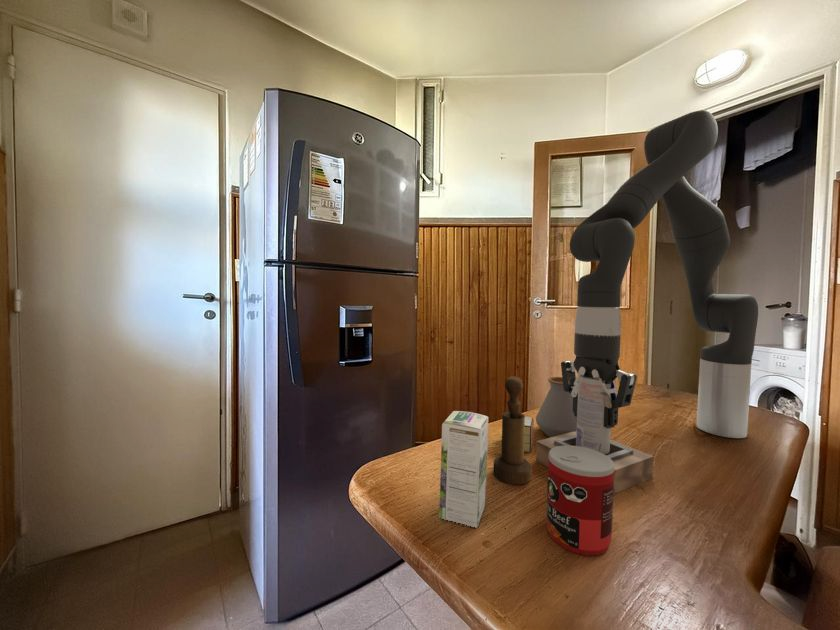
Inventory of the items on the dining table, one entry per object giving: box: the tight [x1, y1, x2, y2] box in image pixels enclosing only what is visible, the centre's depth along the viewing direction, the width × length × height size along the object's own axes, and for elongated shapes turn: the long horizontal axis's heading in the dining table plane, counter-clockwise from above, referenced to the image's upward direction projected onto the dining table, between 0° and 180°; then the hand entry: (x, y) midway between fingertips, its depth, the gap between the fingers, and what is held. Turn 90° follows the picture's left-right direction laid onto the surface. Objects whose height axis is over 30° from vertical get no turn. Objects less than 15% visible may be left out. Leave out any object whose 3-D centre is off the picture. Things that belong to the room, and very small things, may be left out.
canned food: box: [545, 445, 614, 557], centre depth 46 cm, size 8×8×11 cm
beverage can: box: [576, 376, 612, 455], centre depth 64 cm, size 6×6×15 cm
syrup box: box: [438, 410, 489, 529], centre depth 50 cm, size 6×6×14 cm
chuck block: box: [535, 431, 654, 495], centre depth 64 cm, size 14×14×5 cm
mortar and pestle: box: [492, 375, 532, 486], centre depth 61 cm, size 7×6×18 cm
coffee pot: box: [535, 376, 577, 438], centre depth 83 cm, size 21×12×15 cm, turn 127°
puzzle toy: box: [524, 416, 535, 453], centre depth 74 cm, size 6×6×6 cm
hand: (593, 421), depth 64 cm, fingers closed on beverage can, 5 cm apart
